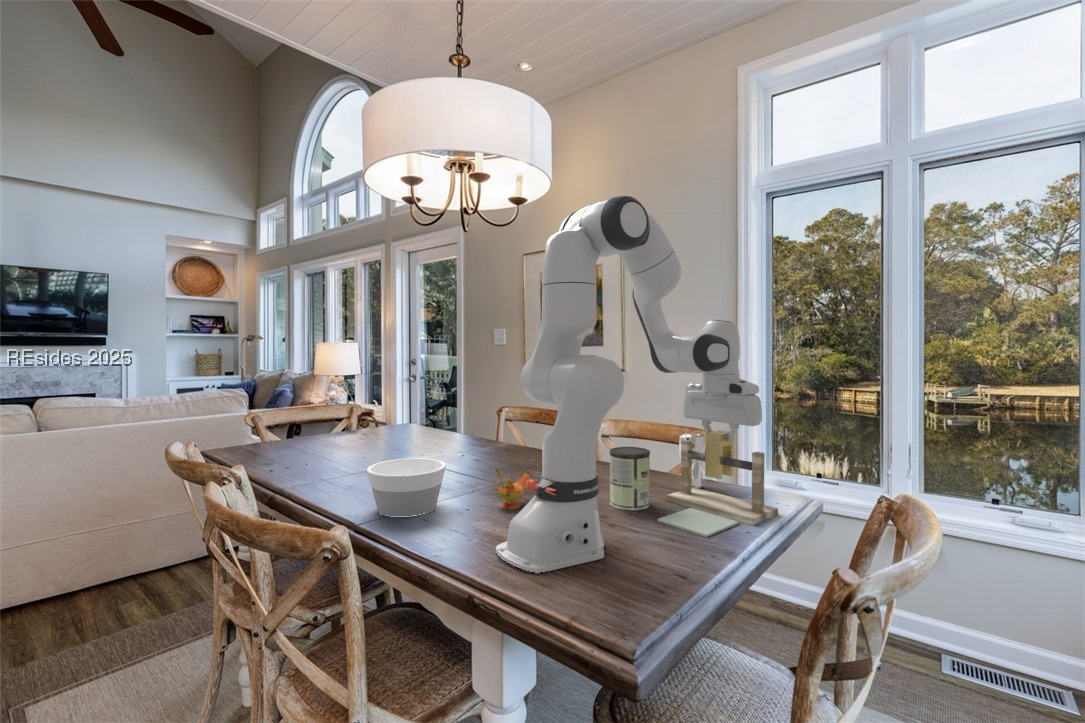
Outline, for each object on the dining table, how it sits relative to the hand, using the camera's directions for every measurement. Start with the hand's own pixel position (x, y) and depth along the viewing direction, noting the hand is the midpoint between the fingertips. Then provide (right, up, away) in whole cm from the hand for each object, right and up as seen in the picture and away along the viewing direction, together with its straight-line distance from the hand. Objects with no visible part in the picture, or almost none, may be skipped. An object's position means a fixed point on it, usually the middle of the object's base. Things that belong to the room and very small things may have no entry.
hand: (719, 439), depth 127 cm
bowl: (-79, -18, 0) cm, 81 cm away
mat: (-9, -18, -11) cm, 22 cm away
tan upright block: (0, -9, 0) cm, 9 cm away
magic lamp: (-52, -17, +3) cm, 55 cm away
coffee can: (-22, -17, +3) cm, 28 cm away
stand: (0, -17, 0) cm, 17 cm away
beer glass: (-1, -17, +20) cm, 26 cm away
